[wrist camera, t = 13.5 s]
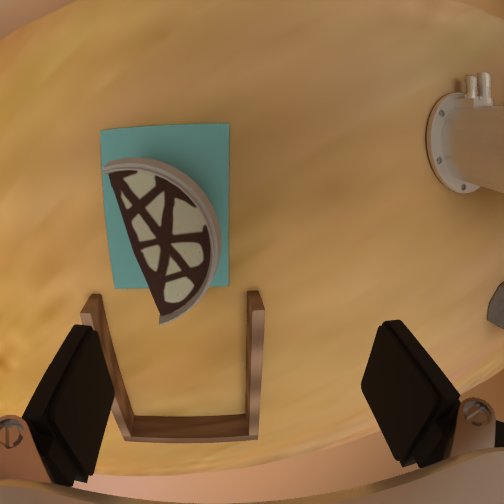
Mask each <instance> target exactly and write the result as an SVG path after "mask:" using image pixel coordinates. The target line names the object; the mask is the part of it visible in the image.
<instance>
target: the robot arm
mask: <svg viewBox="0 0 504 504" xmlns="http://www.w3.org/2000/svg"><path fill="white" fill-rule="evenodd" d="M477 86H478V96H476V88H477ZM466 87H467V94H466V93H461V92H459V93H451V94H447V95H445V96H444V97H442V98H441V99H440V100H439V101H438V102H437V103H436V105H435V106H434V108H433V110H432V112H431V115H430V117H429V121H428V126H427V138H426V140H427V151H428V155H429V160H430V163H431V166H432V168H433V170H434V172H435V174H436V176H437V178H438V179H439V180H440V181H441V183H442V184H443V185H445V186H446V187H447V188H448V189H450V190H452V191H455V192H458V193H465V194H467V193H471V192H474V191H476V190H477V189H479V188H480V187H484V188H488V189H491V190H494V191H497V192H500V193H503V194H504V106H494V100H493V99H491V75H490V74H488V73H484V72H477V79H476V77H473V76H466ZM361 389H362V392H363V394H364V396H365V398H366V400H367V402H368V404H369V406H370V408H371V410H372V412H373V414H374V417H375V419H376V421H377V423H378V425H379V427H380V429H381V431H382V433H383V435H384V437H385V439H386V442H387V443H388V445H389V448H390V450H391V452H392V454H393V456H394V458H395V459H396V460H397V461H400V463H401V465H402V467H406V466H409V465H412V464H414V463H416V462H417V464H418V466H419V468H418V470H415V471H412V472H408V473H405V474H402V475H399V476H396V477H393V478H389V479H386V480H382V481H379V482H375V483H372V484H367V485H363V486H359V487H355V488H351V489H346V490H341V491H337V492H331V493H326V494H320V495H314V496H308V497H301V498H295V499H286V500H278V501H267V502H253V503H232V504H504V423H503V422H500V421H497V420H496V416H495V411H494V409H493V408H492V407H491V405H490V404H489V403H487V402H486V401H485V400H482V399H479V398H474V397H472V398H467V399H465V400H463V401H462V402H460V401H459V397H460V394H459V393H458V391H457V390H456V389H455V387H454V386H453V385H452V383H451V382H450V381H449V379H448V378H447V377H446V376H445V374H444V373H443V372H442V370H441V369H440V368H439V367H438V365H437V364H436V363H435V362H434V360H433V359H432V358H431V356H430V355H429V354H428V353H427V351H426V350H425V349H424V348H423V347H422V345H421V344H420V343H419V342H418V340H417V339H416V338H415V337H414V335H413V334H412V333H411V332H410V331H409V329H408V328H407V327H406V326H405V325H404V323H403V322H402V321H401V320H391V321H385V322H383V324H382V326H379V327H378V330H377V333H376V337H375V340H374V344H373V347H372V350H371V354H370V357H369V360H368V363H367V366H366V369H365V373H364V376H363V379H362V382H361ZM114 397H115V390H114V386H113V383H112V380H111V377H110V374H109V370H108V367H107V364H106V360H105V357H104V353H103V350H102V346H101V342H100V339H99V335H98V332H97V331H96V330H93V328H92V326H89V325H74V326H73V327H72V329H71V331H70V332H69V334H68V335H67V337H66V339H65V340H64V342H63V344H62V345H61V347H60V349H59V350H58V352H57V354H56V356H55V357H54V359H53V361H52V362H51V364H50V365H49V367H48V369H47V370H46V372H45V374H44V376H43V378H42V379H41V381H40V383H39V385H38V387H37V389H36V390H35V392H34V394H33V396H32V398H31V400H30V402H29V404H28V406H27V408H26V410H25V412H24V414H23V416H22V418H21V417H19V416H16V415H6V416H2V417H0V504H194V503H174V502H161V501H150V500H142V499H133V498H127V497H119V496H113V495H107V494H101V493H96V492H91V491H85V490H81V489H76V488H72V486H73V483H74V480H76V481H80V482H84V483H87V480H88V476H89V475H90V476H92V475H93V473H94V470H95V466H96V462H97V458H98V454H99V450H100V447H101V443H102V439H103V435H104V432H105V428H106V425H107V421H108V418H109V414H110V411H111V407H112V404H113V401H114ZM195 504H196V503H195Z"/></svg>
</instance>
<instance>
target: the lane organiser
mask: <svg viewBox="0 0 504 504" xmlns="http://www.w3.org/2000/svg"><path fill="white" fill-rule="evenodd" d="M80 316H81V319H82V323H83V325H89V326H92V328H93V330H96V331H97V332H98V335H99V339H100V342H101V346H102V350H103V353H104V357H105V360H106V364H107V367H108V370H109V374H110V377H111V380H112V383H113V386H114V390H115V397H114V401H113V404H112V407H111V410H112V413H113V415H114V417H115V420H116V422H117V425H118V427H119V429H120V432H121V434H122V436H123V438H124V440H125V441H133V442H151V443H215V442H233V441H247V440H258V429H259V413H260V396H261V378H262V360H263V341H264V321H265V308H264V305H263V302H262V299H261V296H260V293H259V291H247V346H246V414H242V415H227V416H203V417H153V416H134V414H133V411H132V408H131V405H130V402H129V399H128V396H127V393H126V390H125V386H124V383H123V380H122V377H121V373H120V370H119V366H118V363H117V359H116V356H115V352H114V348H113V344H112V340H111V336H110V332H109V328H108V324H107V320H106V315H105V311H104V306H103V301H102V296H101V294H91V296H90V297H89V299H88V301H87V302H86V304H85V306H84V307H83V309H82V310H81V312H80Z"/></svg>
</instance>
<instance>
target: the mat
mask: <svg viewBox="0 0 504 504" xmlns="http://www.w3.org/2000/svg"><path fill="white" fill-rule="evenodd" d="M132 157H137V158H149V159H153V160H157V161H162V162H164V163H166V164H169V165H171V166H173V167H175V168H177V169H179V170H180V171H182V172H183V173H185V174H186V175H188V176H189V177H190V178H191V179H192V180H193V181H194V182H195V183H197V184H198V186H199V187H200V188H201V189H202V190H203V192H204V193H205V194H206V195H207V197H208V199H209V201H210V202H211V204H212V206H213V208H214V210H215V213H216V216H217V218H218V221H219V226H220V231H221V254H220V260H219V264H218V267H217V270H216V273H215V275H214V277H213V279H212V281H211V283H210V285H209V287H218V286H229V249H228V197H229V123H213V124H176V125H157V126H143V127H130V128H120V129H110V130H101V166H102V172H104V169H103V168H104V166H105V165H106V164H107V163H108V162H110V161H114V160H117V159H122V158H132ZM102 183H103V197H104V209H105V219H106V229H107V237H108V245H109V253H110V260H111V267H112V273H113V279H114V285H115V289H130V288H149V287H148V284H147V282H146V280H145V277H144V275H143V273H142V270H141V268H140V266H139V264H138V262H137V259H136V257H135V255H134V252H133V250H132V246H131V243H130V240H129V237H128V234H127V231H126V227H125V224H124V221H123V218H122V215H121V212H120V209H119V206H118V202H117V199H116V196H115V193H114V191H113V188H112V186H111V183H110V179H109V175H108V174H102Z"/></svg>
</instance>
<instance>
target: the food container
mask: <svg viewBox="0 0 504 504" xmlns="http://www.w3.org/2000/svg"><path fill="white" fill-rule="evenodd" d="M103 169H104V172H102V173H101V174H108V175H109V179H110V183H111V186H112V188H113V191H114V193H115V196H116V199H117V202H118V206H119V209H120V212H121V215H122V218H123V221H124V224H125V227H126V231H127V234H128V237H129V240H130V243H131V246H132V250H133V252H134V255H135V257H136V259H137V262H138V264H139V266H140V268H141V270H142V273H143V275H144V277H145V280H146V282H147V284H148V287H149V289H150V291H151V294H152V296H153V298H154V301H155V303H156V305H157V308H158V310H159V312H160V318H159V325H162V324H165V323H168V322H170V321H172V320H174V319H176V318H178V317H180V316H182V315H183V314H184V313H186V312H187V311H188V310H190V309H191V308H192V307H193V306H194V305H195V304H196V303H197V302H198V301H199V300H200V299H201V298H202V296H203V295H204V294H205V292H206V291H207V289H208V287H209V285H210V283H211V281H212V279H213V277H214V275H215V273H216V270H217V267H218V264H219V260H220V254H221V231H220V226H219V221H218V218H217V216H216V213H215V210H214V208H213V206H212V204H211V202H210V201H209V199H208V197H207V195H206V194H205V193H204V192H203V190H202V189H201V188H200V187H199V186H198V184H197V183H195V182H194V181H193V180H192V179H191V178H190V177H189V176H188V175H186V174H185V173H183V172H182V171H180V170H179V169H177V168H175V167H173V166H171V165H169V164H166V163H164V162H162V161H157V160H153V159H149V158H137V157H132V158H122V159H117V160H114V161H110V162H108V163H107V164H106V165H105V166H104V168H103Z"/></svg>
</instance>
